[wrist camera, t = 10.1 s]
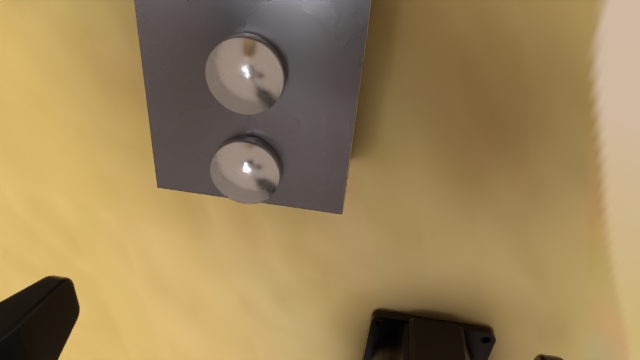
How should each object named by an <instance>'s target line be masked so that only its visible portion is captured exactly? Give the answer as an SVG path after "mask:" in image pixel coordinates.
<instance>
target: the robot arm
mask: <svg viewBox="0 0 640 360" xmlns="http://www.w3.org/2000/svg"><path fill="white" fill-rule="evenodd" d="M79 311H80V307H79V302H78V299H77V295H76V291H75V288H74V284H73V282H72V280H71V279H69V278H66V277H60V276H47V277H45V278H43V279H41V280H39V281H38V282H36V283H34V284H32V285H30V286H28V287H27V288H25V289H23V290H21V291H19V292H18V293H16V294H14V295H12V296H10V297H9V298H7V299H5V300H3V301H1V302H0V360H58V359H59V356H60V354H61V352H62V350H63V348H64V346H65V344H66V342H67V340H68V338H69V336H70V333H71V331H72V329H73V327H74V325H75V323H76V321H77V319H78V316H79ZM379 320H383V321H379ZM495 340H496V338H495V334H494V331H493V330H492V329H490V328H486V327H480V326H474V325H467V324H461V323H455V322H448V321H442V320H436V319H429V318H423V317H417V316H410V315H404V314H398V313H391V312H385V311H376V312H374V313H373V314H372V316H371V320H370V325H369V330H368V334H367V339H366V344H365V349H364V353H363V358H362V360H488V357H489V355H490V353H491V350H492V348H493V346H494V344H495ZM534 360H563V359H562V358H560V357H556V356H550V355H544V354H539V355H537V356H536V357H535V359H534Z"/></svg>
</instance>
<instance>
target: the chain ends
mask: <svg viewBox="0 0 640 360" xmlns="http://www.w3.org/2000/svg"><path fill="white" fill-rule="evenodd" d="M134 2H135V10H136V18H137V26H138V34H139V42H140V51H141V59H142V67H143V75H144V83H145V91H146V99H147V107H148V115H149V123H150V131H151V139H152V148H153V156H154V164H155V172H156V180H157V188H164V189H171V190H178V191H184V192H191V193H198V194H205V195H212V196H219V197H226V198H230V199H231V200H234V201H236V202H239V203H244V204H256V203H267V204H274V205H281V206H287V207H294V208H301V209H308V210H315V211H322V212H329V213H335V214H342V212H343V205H344V199H345V192H346V185H347V179H348V172H349V166H350V159H351V152H352V144H353V137H354V130H355V123H356V115H357V108H358V101H359V94H360V86H361V79H362V72H363V64H364V57H365V50H366V43H367V35H368V28H369V21H370V14H371V6H372V0H134Z"/></svg>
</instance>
